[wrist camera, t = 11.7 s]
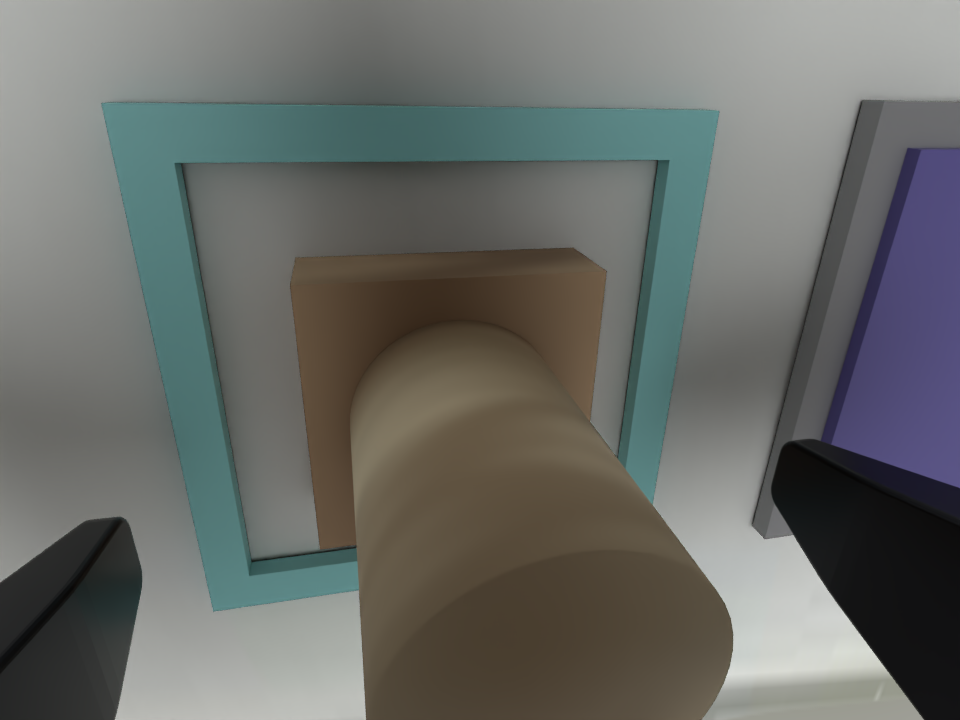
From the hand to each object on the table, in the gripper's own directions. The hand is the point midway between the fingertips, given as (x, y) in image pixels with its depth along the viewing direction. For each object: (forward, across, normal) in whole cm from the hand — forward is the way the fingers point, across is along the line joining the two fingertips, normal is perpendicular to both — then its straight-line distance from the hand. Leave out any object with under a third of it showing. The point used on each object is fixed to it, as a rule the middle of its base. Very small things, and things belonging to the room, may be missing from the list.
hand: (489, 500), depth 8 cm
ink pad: (+4, -13, 0) cm, 14 cm away
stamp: (+4, 0, 0) cm, 4 cm away
